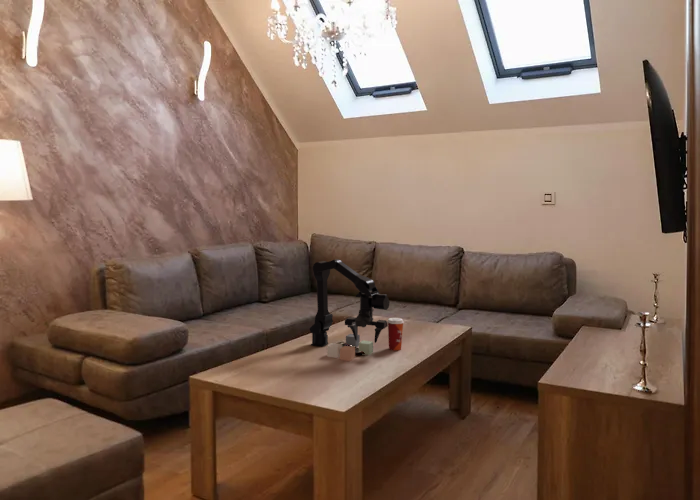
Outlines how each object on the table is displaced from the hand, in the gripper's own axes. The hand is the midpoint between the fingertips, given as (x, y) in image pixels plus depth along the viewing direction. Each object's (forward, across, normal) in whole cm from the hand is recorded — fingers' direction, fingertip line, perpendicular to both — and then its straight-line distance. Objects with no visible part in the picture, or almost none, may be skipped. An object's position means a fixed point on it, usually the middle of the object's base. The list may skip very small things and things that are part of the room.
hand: (365, 341), depth 255 cm
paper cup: (+5, +10, +12) cm, 17 cm away
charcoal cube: (+5, -10, +9) cm, 14 cm away
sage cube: (+5, 0, 0) cm, 5 cm away
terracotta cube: (+5, -4, -12) cm, 14 cm away
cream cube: (+5, -11, -10) cm, 16 cm away
